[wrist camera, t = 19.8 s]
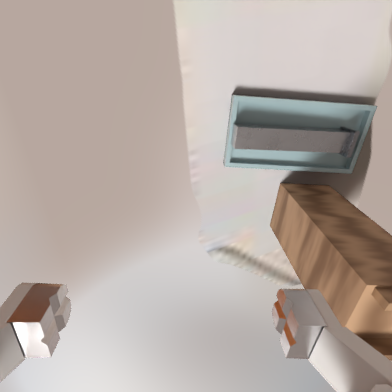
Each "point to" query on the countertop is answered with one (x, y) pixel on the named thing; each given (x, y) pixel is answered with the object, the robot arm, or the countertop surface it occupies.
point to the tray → (299, 117)
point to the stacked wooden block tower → (339, 258)
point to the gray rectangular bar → (294, 138)
